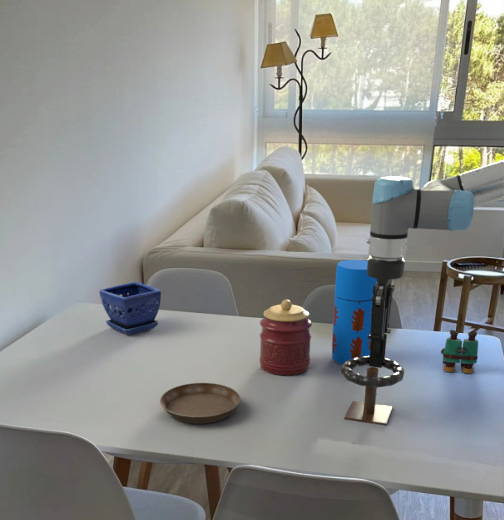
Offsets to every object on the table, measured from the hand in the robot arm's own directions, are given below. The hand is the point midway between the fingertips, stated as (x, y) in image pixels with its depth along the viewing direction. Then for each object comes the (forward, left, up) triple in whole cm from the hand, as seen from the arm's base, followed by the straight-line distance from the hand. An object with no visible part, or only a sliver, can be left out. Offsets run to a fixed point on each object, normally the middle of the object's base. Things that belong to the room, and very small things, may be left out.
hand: (376, 364), depth 155 cm
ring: (0, +5, 0) cm, 6 cm away
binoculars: (-16, -33, -11) cm, 38 cm away
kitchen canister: (+26, -18, -11) cm, 33 cm away
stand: (0, +5, -11) cm, 12 cm away
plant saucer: (+36, +14, -11) cm, 40 cm away
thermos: (+11, -30, -11) cm, 33 cm away
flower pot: (+77, -32, -11) cm, 84 cm away
